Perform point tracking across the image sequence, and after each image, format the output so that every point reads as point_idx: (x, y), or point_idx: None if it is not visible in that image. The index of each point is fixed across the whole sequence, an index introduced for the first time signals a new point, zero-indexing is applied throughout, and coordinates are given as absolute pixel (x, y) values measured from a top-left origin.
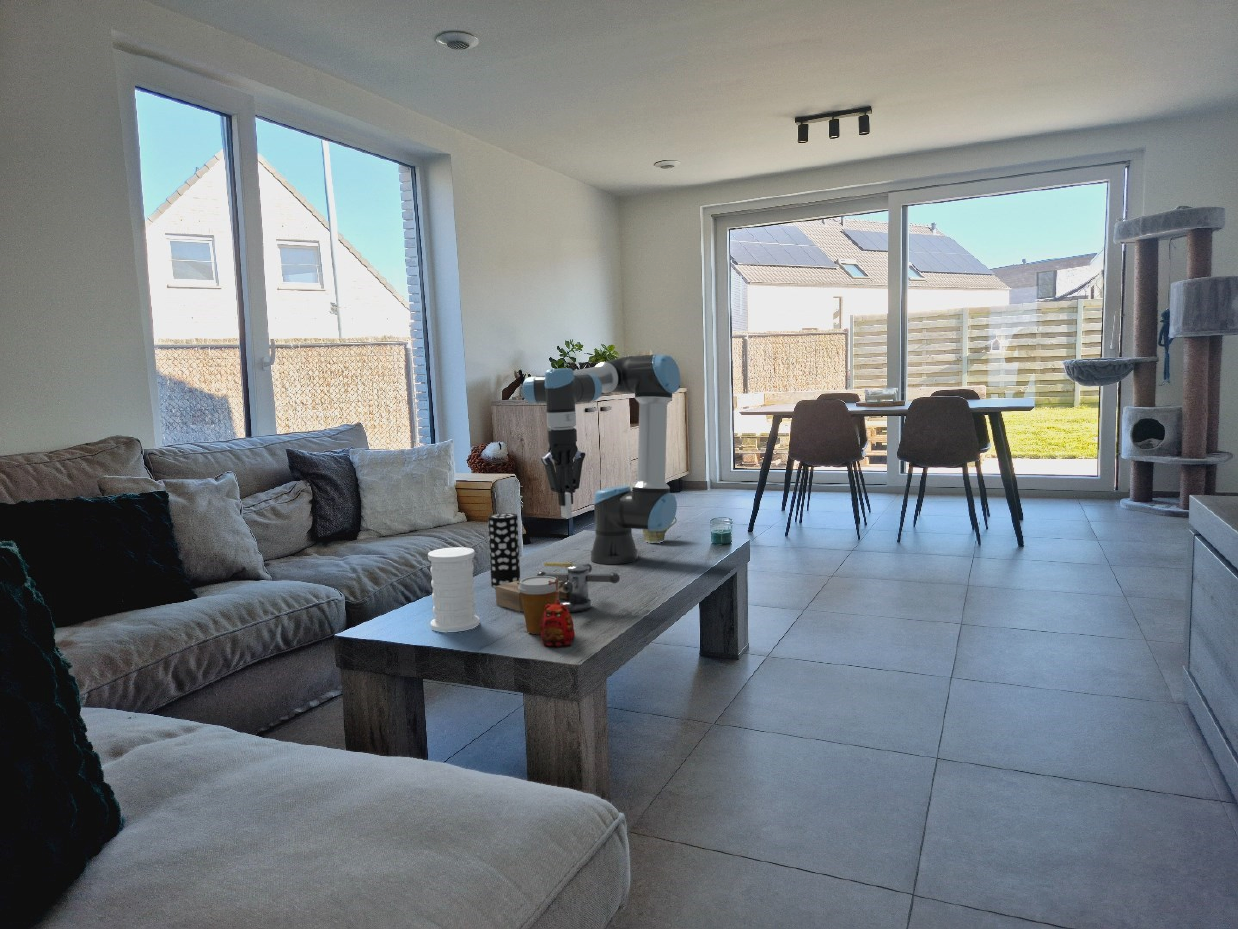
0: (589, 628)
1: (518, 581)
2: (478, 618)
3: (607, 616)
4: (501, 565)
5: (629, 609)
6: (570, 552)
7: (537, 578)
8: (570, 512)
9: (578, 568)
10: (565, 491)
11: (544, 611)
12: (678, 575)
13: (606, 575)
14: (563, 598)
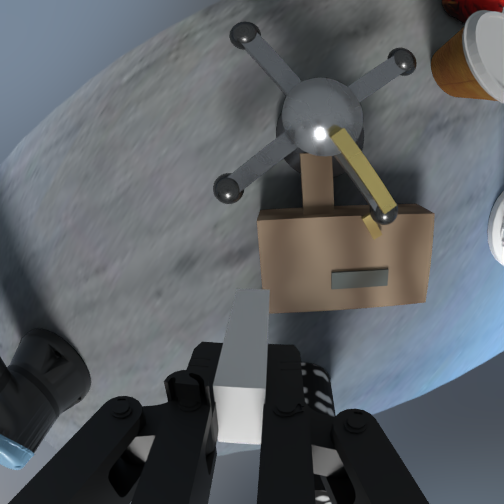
0: (377, 8)
1: (368, 301)
2: (501, 204)
3: (300, 33)
4: (328, 402)
5: (229, 39)
6: None
7: (500, 80)
8: (242, 303)
9: (340, 89)
10: (267, 407)
11: (502, 8)
12: (15, 194)
13: (264, 44)
14: None
